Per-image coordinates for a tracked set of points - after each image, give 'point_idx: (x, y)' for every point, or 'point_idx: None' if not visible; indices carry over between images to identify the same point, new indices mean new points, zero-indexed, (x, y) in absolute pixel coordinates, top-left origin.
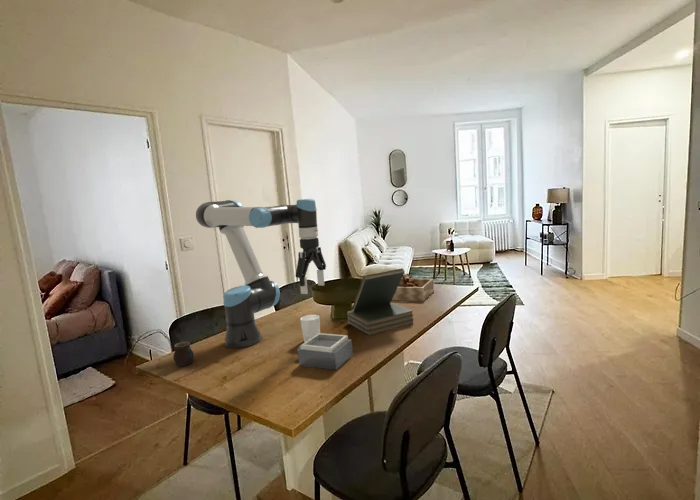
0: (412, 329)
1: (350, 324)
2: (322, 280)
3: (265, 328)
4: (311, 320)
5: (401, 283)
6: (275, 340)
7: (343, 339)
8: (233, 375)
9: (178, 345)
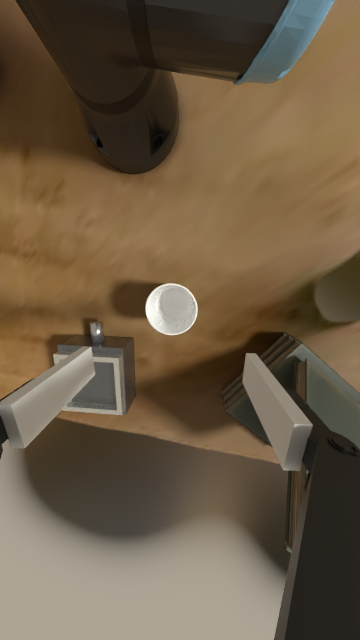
0: (256, 447)
1: (278, 339)
2: (252, 397)
3: (236, 108)
4: (152, 325)
5: None
6: (160, 213)
7: (105, 412)
8: (5, 245)
9: None
